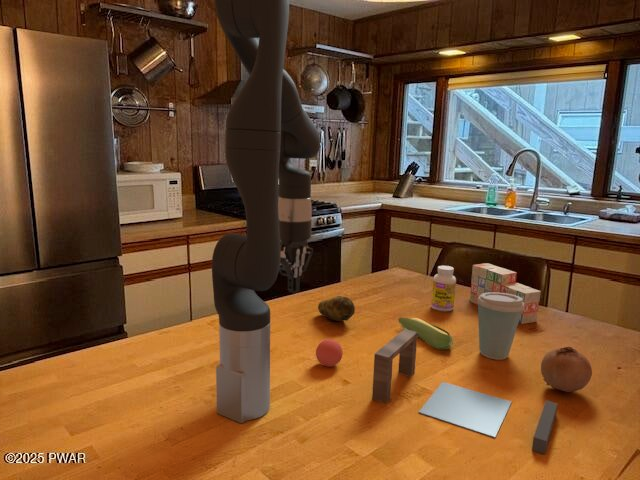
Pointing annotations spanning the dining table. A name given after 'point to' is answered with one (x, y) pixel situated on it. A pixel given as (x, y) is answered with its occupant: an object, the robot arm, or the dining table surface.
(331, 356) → the ball
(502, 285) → the stack of blocks
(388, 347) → the bridge
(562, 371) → the onion
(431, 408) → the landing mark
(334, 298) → the potato
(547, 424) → the wall
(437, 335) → the edible corn
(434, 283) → the supplement bottle
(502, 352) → the disposable coffee cup
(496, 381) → the dining table surface
